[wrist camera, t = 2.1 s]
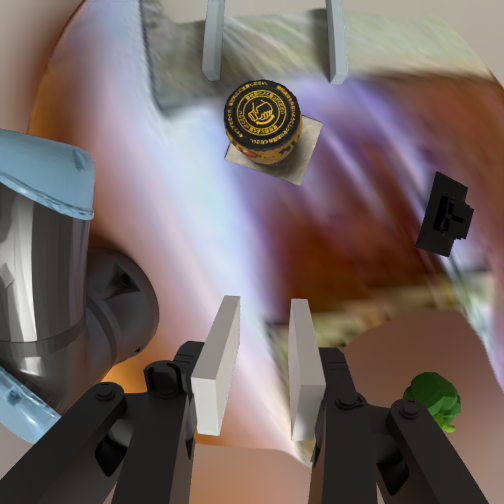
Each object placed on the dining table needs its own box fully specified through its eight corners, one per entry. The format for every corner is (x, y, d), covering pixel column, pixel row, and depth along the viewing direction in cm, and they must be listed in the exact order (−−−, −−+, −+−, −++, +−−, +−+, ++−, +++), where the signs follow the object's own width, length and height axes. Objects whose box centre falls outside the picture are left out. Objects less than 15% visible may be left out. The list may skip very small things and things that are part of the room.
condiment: (247, 98, 29) (231, 56, 17) (322, 123, 29) (348, 95, 17) (225, 159, 31) (196, 150, 19) (300, 186, 31) (315, 191, 19)
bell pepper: (387, 387, 36) (408, 434, 27) (433, 354, 35) (464, 395, 25) (406, 413, 38) (425, 456, 28) (448, 383, 36) (474, 423, 26)
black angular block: (431, 156, 29) (451, 155, 25) (473, 178, 29) (494, 180, 25) (404, 255, 32) (420, 266, 28) (447, 269, 32) (466, 281, 28)
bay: (209, 80, 29) (201, 70, 25) (216, -13, 25) (211, -27, 22) (340, 84, 28) (347, 75, 24) (334, -10, 24) (338, -25, 21)
